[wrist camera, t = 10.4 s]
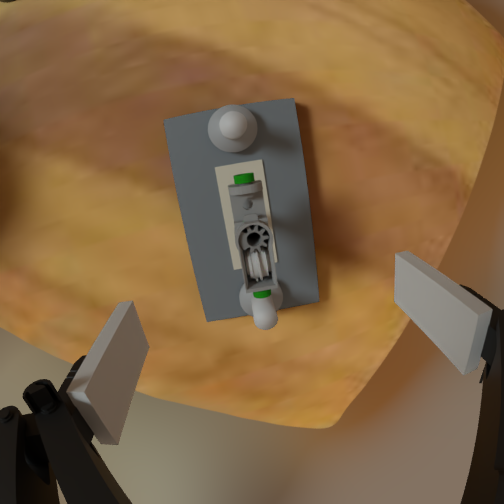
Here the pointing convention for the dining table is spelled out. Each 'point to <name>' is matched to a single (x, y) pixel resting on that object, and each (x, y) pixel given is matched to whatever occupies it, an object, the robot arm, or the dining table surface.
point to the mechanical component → (253, 235)
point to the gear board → (220, 211)
